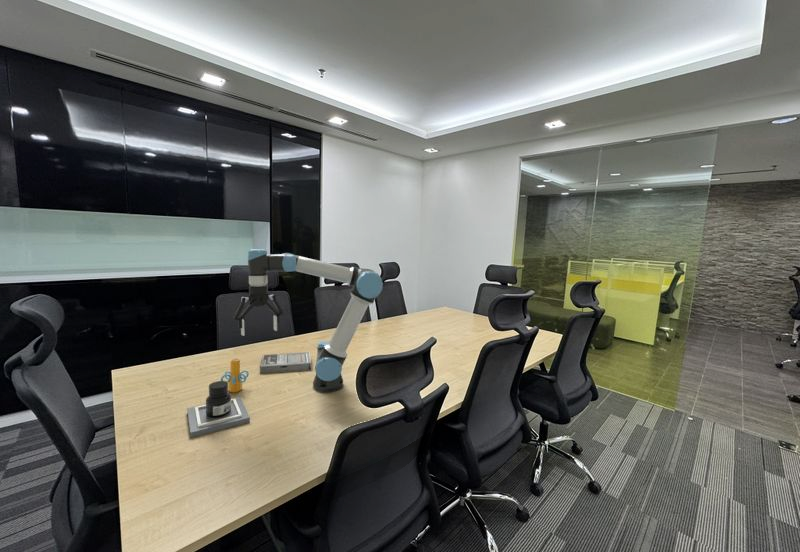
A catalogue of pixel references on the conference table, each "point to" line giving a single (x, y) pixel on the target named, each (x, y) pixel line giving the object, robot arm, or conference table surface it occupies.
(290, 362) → the hard drive
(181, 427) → the conference table surface
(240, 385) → the orange post with loops
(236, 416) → the base plate
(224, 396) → the ink bottle
